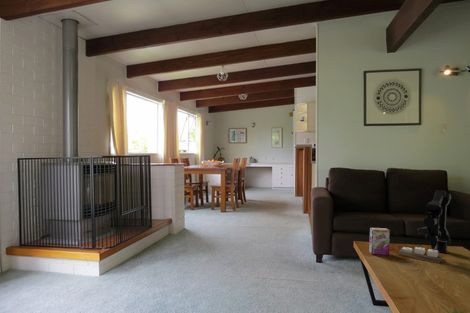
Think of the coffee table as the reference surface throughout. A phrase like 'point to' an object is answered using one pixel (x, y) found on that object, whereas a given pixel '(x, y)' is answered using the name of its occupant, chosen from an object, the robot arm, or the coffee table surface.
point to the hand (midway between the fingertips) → (432, 249)
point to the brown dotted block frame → (421, 256)
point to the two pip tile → (419, 250)
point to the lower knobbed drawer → (432, 253)
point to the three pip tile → (407, 249)
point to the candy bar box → (379, 241)
